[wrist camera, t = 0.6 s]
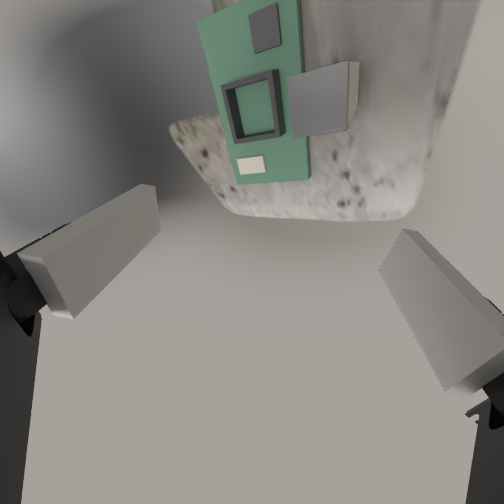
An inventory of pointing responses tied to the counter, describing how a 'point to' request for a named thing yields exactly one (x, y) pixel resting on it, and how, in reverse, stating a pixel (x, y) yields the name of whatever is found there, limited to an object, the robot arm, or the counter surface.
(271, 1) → the board
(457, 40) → the counter surface
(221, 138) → the counter surface
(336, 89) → the plug
